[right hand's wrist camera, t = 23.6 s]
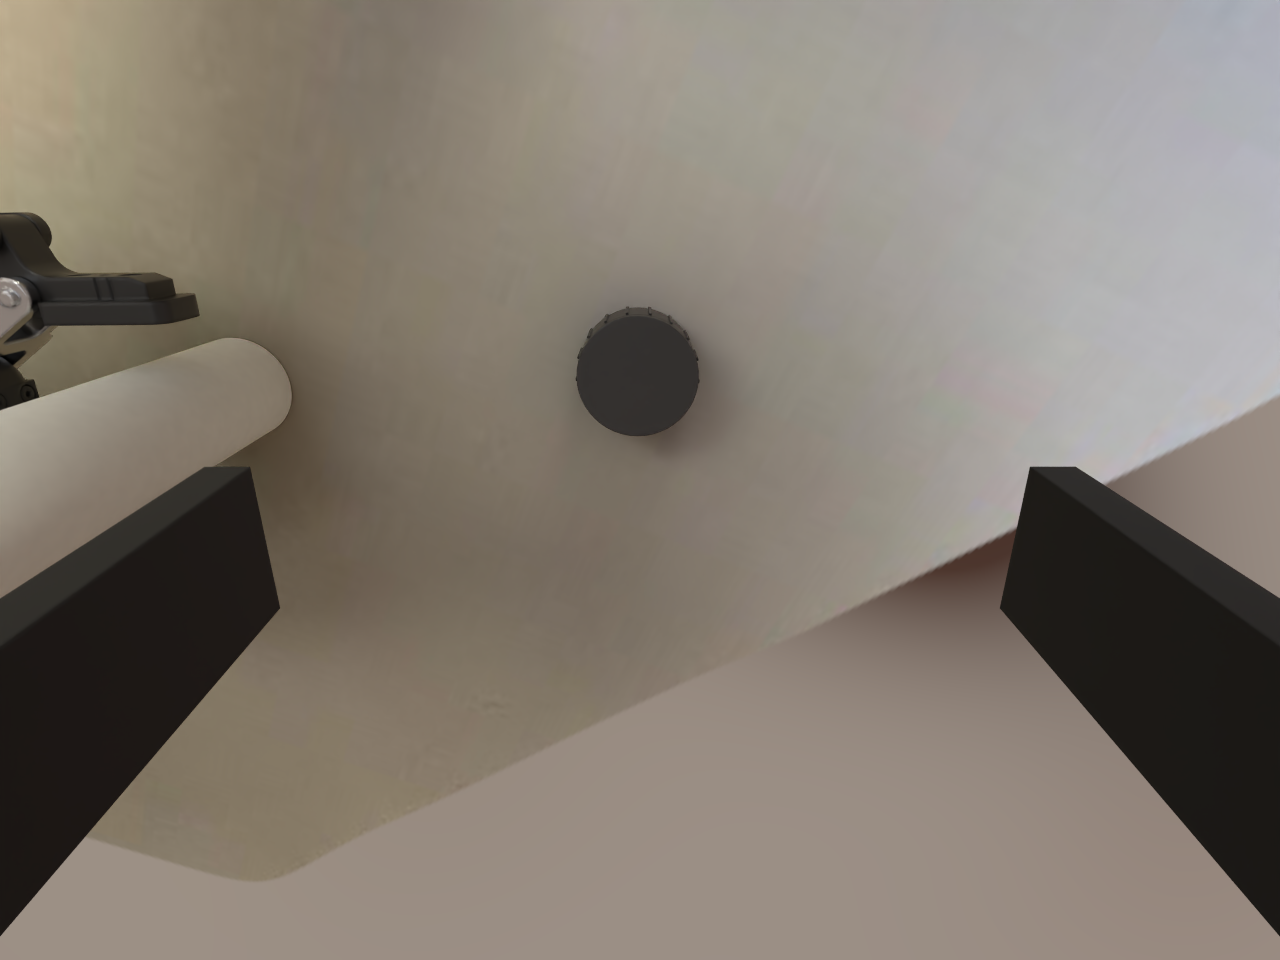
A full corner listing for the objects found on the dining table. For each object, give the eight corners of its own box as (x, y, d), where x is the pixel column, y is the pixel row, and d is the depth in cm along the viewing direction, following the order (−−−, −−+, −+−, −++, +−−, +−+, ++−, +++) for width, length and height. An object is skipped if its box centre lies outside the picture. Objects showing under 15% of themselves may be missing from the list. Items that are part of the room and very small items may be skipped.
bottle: (299, 356, 30) (-156, 564, 13) (283, 447, 31) (-146, 746, 14) (196, 323, 29) (-423, 492, 12) (185, 417, 31) (-385, 689, 14)
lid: (555, 374, 30) (549, 388, 28) (627, 280, 29) (626, 286, 27) (646, 442, 31) (647, 461, 29) (719, 354, 30) (726, 366, 28)
